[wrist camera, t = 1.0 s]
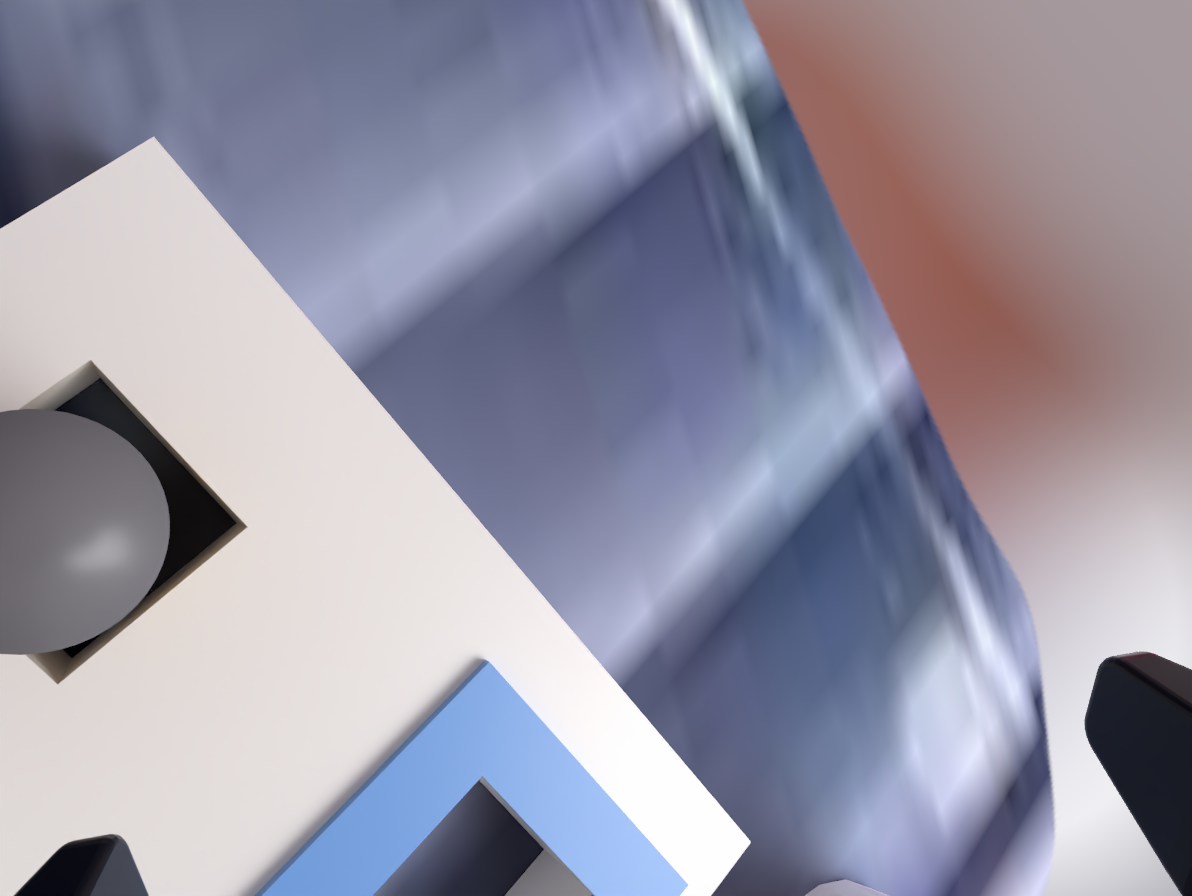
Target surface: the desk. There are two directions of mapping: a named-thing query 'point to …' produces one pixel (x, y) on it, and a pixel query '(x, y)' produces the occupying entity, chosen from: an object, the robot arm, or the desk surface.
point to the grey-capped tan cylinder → (73, 529)
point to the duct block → (298, 607)
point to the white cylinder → (843, 889)
